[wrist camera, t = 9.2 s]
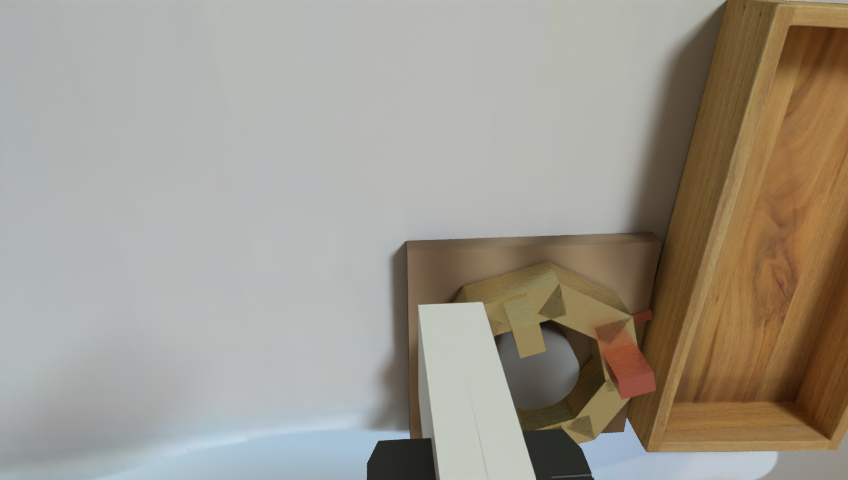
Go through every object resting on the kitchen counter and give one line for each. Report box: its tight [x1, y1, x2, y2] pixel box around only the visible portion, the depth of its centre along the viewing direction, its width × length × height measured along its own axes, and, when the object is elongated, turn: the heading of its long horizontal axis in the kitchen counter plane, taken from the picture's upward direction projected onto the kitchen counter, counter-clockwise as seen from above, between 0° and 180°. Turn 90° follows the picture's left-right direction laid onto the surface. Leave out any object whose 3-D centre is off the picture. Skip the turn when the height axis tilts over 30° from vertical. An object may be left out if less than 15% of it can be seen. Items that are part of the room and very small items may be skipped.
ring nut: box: [453, 261, 656, 444], centre depth 40 cm, size 14×14×6 cm
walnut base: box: [406, 232, 662, 439], centre depth 42 cm, size 17×17×4 cm
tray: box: [627, 0, 848, 452], centre depth 40 cm, size 31×15×6 cm, turn 177°
